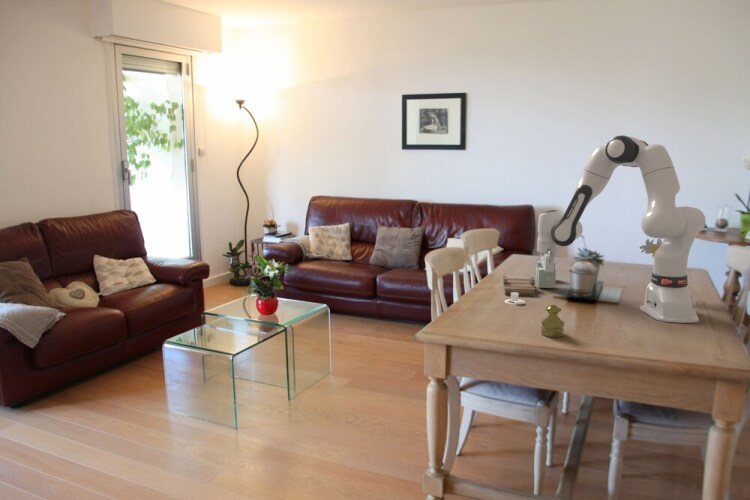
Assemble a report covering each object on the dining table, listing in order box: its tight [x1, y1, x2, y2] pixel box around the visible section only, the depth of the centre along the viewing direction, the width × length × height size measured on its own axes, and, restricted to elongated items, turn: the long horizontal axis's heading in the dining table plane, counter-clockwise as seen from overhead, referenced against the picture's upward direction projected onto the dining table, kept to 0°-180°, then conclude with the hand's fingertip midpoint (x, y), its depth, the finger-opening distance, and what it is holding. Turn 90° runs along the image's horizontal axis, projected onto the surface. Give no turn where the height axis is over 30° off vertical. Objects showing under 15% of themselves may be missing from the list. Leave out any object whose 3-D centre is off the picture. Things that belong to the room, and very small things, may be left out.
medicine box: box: [535, 260, 556, 282], centre depth 267 cm, size 8×4×9 cm, turn 84°
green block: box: [537, 267, 557, 289], centre depth 252 cm, size 4×7×8 cm, turn 79°
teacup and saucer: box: [504, 292, 526, 306], centre depth 232 cm, size 9×8×4 cm
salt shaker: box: [540, 304, 565, 338], centre depth 193 cm, size 7×7×10 cm
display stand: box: [502, 275, 536, 297], centre depth 250 cm, size 18×13×6 cm
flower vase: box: [639, 238, 663, 288], centre depth 234 cm, size 12×18×24 cm
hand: (546, 278), depth 252 cm, fingers closed on green block, 4 cm apart
